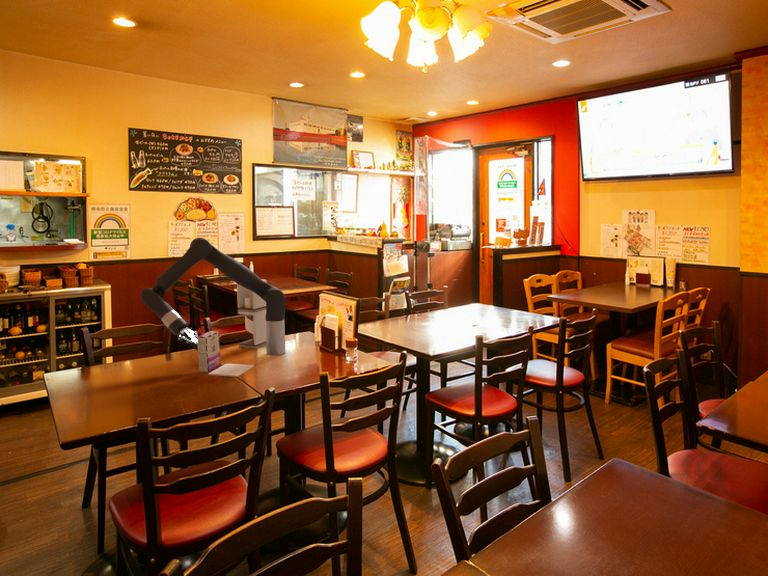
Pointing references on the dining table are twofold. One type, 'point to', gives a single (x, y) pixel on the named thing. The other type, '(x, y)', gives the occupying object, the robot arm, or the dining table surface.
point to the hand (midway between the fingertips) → (200, 349)
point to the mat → (231, 370)
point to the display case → (252, 316)
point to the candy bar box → (208, 351)
